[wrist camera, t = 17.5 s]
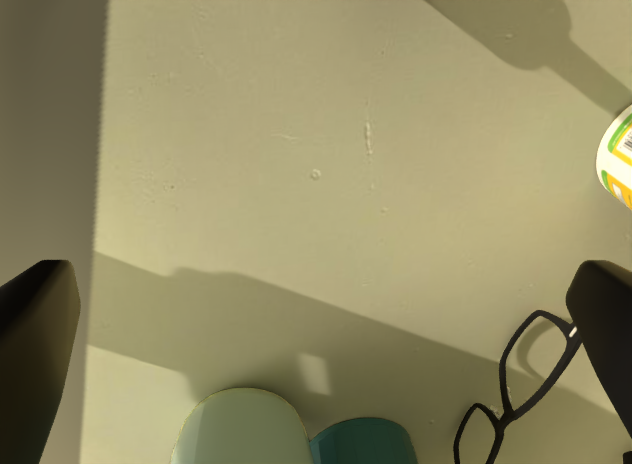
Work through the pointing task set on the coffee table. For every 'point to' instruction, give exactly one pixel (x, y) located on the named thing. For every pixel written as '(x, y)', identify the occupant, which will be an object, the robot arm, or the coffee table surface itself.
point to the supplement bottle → (617, 158)
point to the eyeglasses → (573, 343)
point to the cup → (243, 431)
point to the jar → (364, 443)
